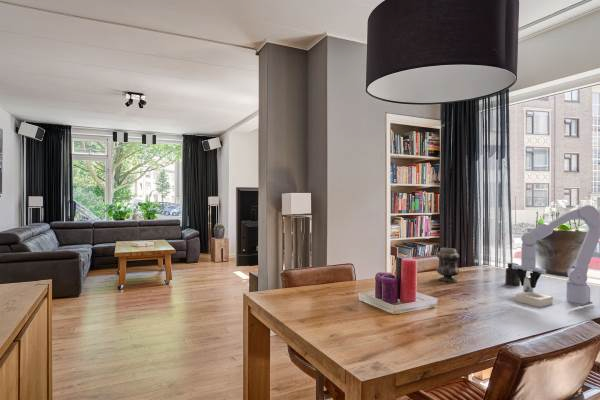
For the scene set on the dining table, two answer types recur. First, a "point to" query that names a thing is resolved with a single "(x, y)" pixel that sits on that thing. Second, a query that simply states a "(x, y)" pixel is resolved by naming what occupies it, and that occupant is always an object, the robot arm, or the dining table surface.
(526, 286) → the metal peg
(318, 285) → the dining table surface
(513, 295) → the cream recessed block
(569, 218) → the robot arm
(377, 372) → the dining table surface
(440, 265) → the apothecary jar
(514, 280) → the supplement bottle
